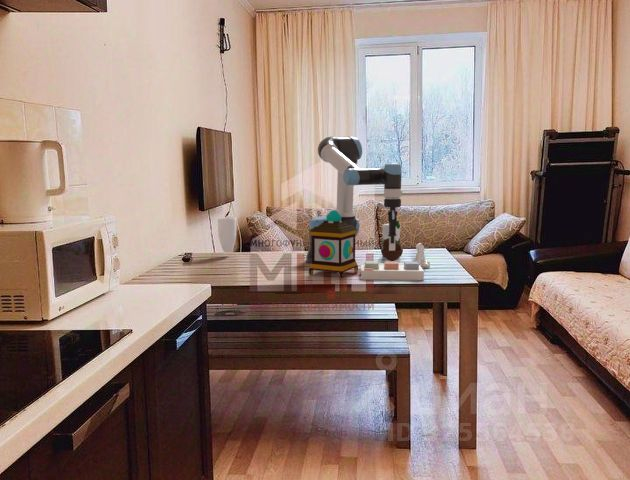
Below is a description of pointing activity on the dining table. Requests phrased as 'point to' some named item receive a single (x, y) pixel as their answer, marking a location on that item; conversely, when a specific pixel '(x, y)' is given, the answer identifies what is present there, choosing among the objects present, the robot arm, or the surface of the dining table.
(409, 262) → the slate key
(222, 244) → the cup
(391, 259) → the ice cream bowl
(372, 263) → the sage key
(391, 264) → the terracotta key
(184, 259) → the dining table surface
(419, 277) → the console
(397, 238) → the milk carton
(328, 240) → the decorative lantern
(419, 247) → the sitting furry creature
